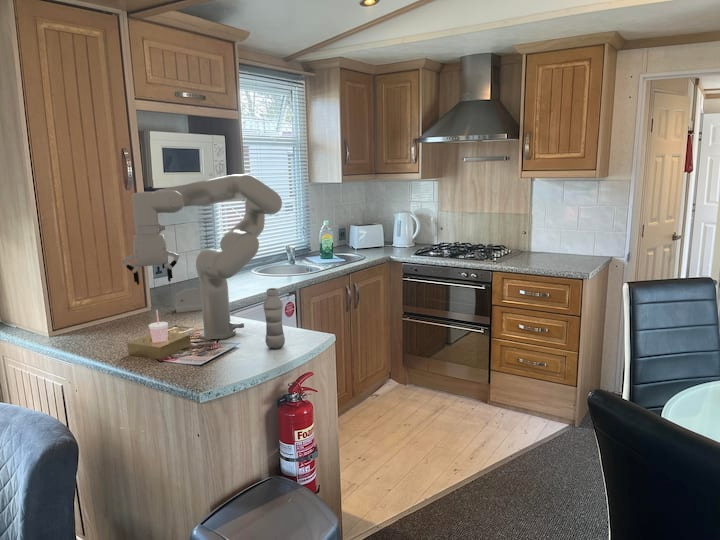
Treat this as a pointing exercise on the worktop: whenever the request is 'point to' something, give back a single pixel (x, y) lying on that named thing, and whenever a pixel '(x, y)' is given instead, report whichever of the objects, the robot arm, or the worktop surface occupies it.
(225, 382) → the worktop surface
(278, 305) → the plastic bottle
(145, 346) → the block
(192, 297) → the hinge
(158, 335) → the beverage cup
